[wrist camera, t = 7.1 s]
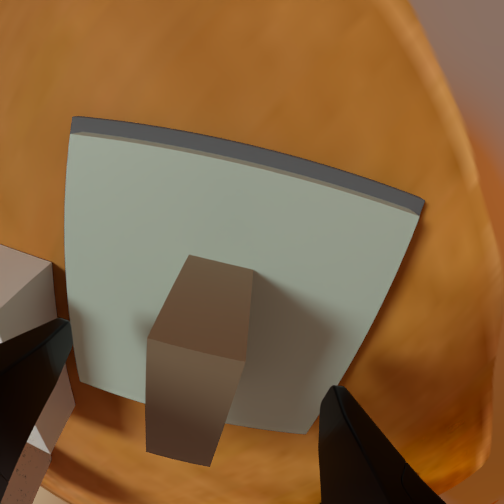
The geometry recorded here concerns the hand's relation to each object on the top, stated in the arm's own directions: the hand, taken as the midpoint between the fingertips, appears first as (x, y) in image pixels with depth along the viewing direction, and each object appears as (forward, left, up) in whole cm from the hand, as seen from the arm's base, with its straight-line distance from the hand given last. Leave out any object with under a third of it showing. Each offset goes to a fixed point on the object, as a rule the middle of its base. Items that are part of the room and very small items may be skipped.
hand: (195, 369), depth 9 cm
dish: (+12, +5, -3) cm, 13 cm away
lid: (0, 0, -3) cm, 3 cm away
